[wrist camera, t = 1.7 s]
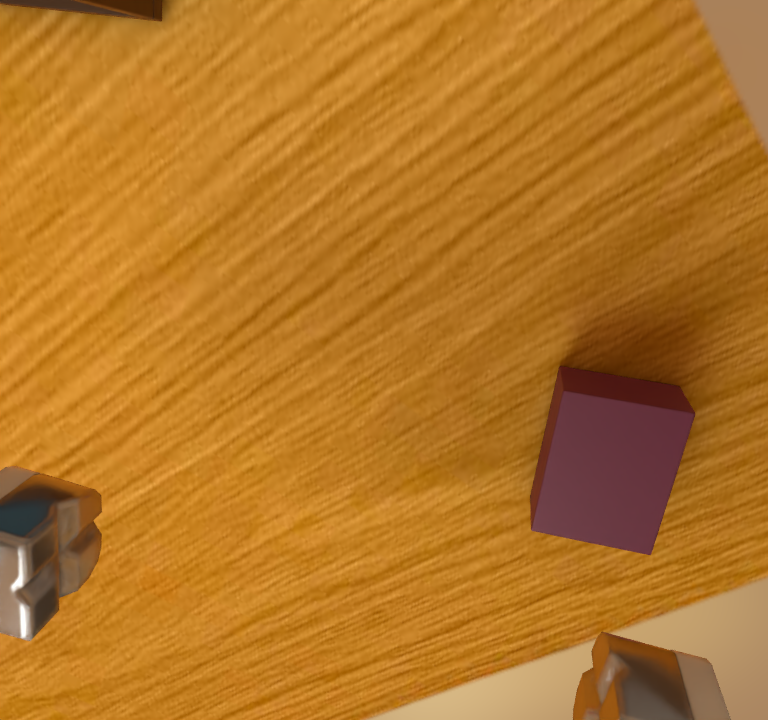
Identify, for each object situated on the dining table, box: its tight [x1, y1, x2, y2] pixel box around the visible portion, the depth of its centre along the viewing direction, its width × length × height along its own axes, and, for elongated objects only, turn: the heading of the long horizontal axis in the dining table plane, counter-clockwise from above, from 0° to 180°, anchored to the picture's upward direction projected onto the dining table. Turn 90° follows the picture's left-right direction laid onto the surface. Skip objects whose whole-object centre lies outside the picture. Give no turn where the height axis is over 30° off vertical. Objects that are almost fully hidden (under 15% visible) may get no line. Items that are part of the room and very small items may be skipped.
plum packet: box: [530, 366, 695, 555], centre depth 25 cm, size 6×4×2 cm
